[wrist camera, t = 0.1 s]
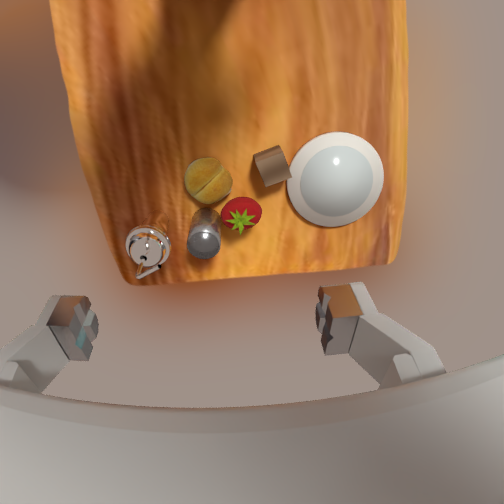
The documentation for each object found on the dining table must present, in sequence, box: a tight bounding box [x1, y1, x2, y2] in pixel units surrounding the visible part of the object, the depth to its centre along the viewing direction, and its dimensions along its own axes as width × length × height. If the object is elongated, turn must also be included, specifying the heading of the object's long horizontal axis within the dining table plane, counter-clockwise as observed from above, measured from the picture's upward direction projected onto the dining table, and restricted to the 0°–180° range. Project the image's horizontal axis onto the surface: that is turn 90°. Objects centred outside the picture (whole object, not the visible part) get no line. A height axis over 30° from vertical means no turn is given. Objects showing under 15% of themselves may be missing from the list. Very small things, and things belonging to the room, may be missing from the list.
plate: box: [287, 131, 384, 227], centre depth 60 cm, size 20×20×1 cm
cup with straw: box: [126, 210, 171, 279], centre depth 55 cm, size 8×9×20 cm
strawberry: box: [221, 197, 262, 235], centre depth 58 cm, size 6×8×10 cm
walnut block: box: [254, 145, 292, 187], centre depth 56 cm, size 5×5×5 cm
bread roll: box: [184, 157, 233, 204], centre depth 57 cm, size 8×9×4 cm
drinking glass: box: [187, 208, 221, 259], centre depth 61 cm, size 6×6×9 cm
